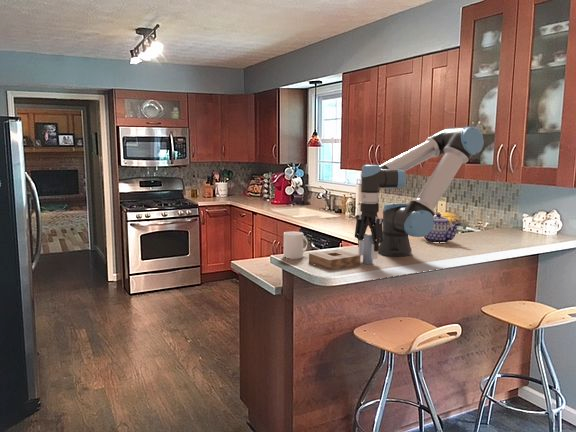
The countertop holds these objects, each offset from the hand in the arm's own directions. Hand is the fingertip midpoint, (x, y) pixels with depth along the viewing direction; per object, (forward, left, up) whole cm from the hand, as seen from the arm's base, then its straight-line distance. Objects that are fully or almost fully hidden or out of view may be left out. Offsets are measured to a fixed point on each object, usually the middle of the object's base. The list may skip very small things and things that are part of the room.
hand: (367, 256), depth 205 cm
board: (+13, -6, -3) cm, 15 cm away
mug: (+19, -25, -3) cm, 32 cm away
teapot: (-63, -16, -3) cm, 65 cm away
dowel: (0, 0, -3) cm, 3 cm away
